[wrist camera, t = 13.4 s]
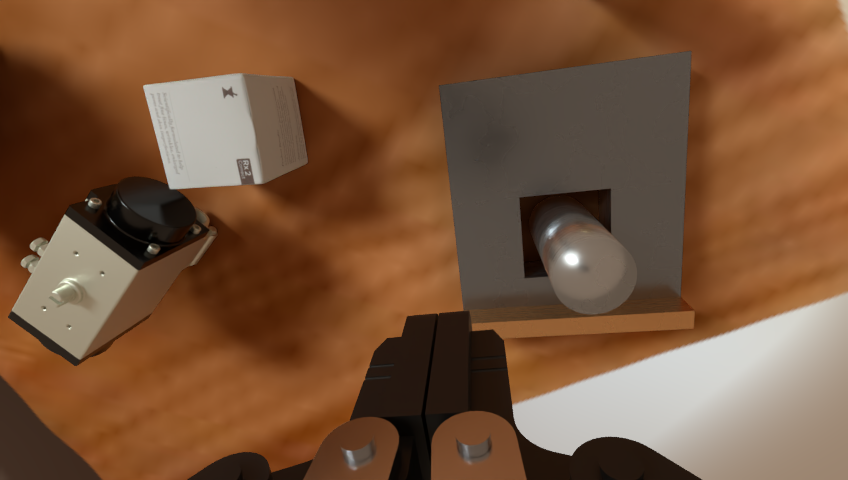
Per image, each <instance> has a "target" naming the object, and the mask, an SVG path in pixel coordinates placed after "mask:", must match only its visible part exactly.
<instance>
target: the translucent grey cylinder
mask: <svg viewBox="0 0 848 480" xmlns="http://www.w3.org/2000/svg"><path fill="white" fill-rule="evenodd" d="M529 230H530V233H531V235H532V238H533V240H534V243H535V245H536V248H537V250H538V252H539V255H540V257H541V260H542V262H543V265H544V267H545V269H546V272H547V274H548V277H549V279H550V282H551V284H552V287H553V289H554V291H555V294H556V295H557V297H558V299H559V300H560V301H561V302H562V303H563V304H564V305H565V306H566V307H568V308H569V309H571V310H573V311H576V312H578V313H583V314H601V313H605V312H608V311H611V310H613V309H615V308H617V307H618V306H620V305H621V304H622V303H624V302H625V301H626V300H627V299H628V297H629V296H630V295H631V293H632V291H633V290H634V287H635V285H636V280H637V268H636V264H635V261H634V259H633V257H632V255H631V254H630V253H629V252H628V250H627V249H626V248H625V247H624V246H623V245H622V244H621V243H620V242H619V241H618V240H617V239H616V238H615V237H614V236H613V235H612V234H611V233H610V232H609V231H608V230H607V229H606V228H605V227H604V226H603V225H602V224H601V223H600V222H599V221H598V220H597V219H596V218H595V217H594V216H593V215H592V214H591V213H590V212H589V211H588V210H587V209H586V208H585V207H584V206H583V205H582V204H581V203H580V202H578V201H577V200H576V199H574V198H572V197H569V196H565V195H555V196H551V197H548V198H546V199H544V200H542V201H541V202H540V203H538V204H537V205H536V207H535V208H534V209H533V211H532V213H531V215H530V219H529Z"/></svg>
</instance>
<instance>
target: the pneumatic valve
mask: <svg viewBox="0 0 848 480" xmlns="http://www.w3.org/2000/svg"><path fill="white" fill-rule="evenodd" d="M209 222H210V220H209V217H208V216H207V215H206V214H205V213H204V212H203V211H202V210H200V209H198V208H196V207H194V206H193V205H192V203H191V202H190V201H189V200H188V199H187V198H186V197H185V196H184V195H183V194H182V193H180V192H179V191H177V190H176V189H170V188H169V185H167V184H165V183H163V182H160V181H157V180H154V179H151V178H146V177H128V178H125V179H122V180H121V181H120V182H119V183H118V184H114V185H109V186H105V187H101V188H97V189H93V190H91V191H90V193H89V195H88V196H87V198H86V200H85V201H84V202H80V203H76V204H72V205H70V206H69V207H68V209H67V211H66V213H65V215H64V217H63V218H62V220H61V222H60V224H59V226H58V227H57V229H56V231H55V233H54V235H53V236H52V238H51V240H50V242H49V241H47V240H46V239H44V238H38V239H36V240H34V241H33V242H32V243H31V244H30V249H32V250H33V251H37V253H38V255H40V256H41V258H40V260H39V257H37V256H36V255H33V254H32V255H28V256H27V257H25V258H24V259H23V260H22V261H21V266H23V267H24V268H28V270H29V271H30V272H31V273H32V275H31V276H30V278H29V280H28V282H27V284H26V285H25V287H24V289H23V291H22V293H21V294H20V296H19V298H18V300H17V302H16V304H15V305H14V307H13V309H12V311H11V313H10V314H9V316H8V318H9V319H11V320H12V321H14V322H15V323H16V324H18V325H19V326H20V327H22V328H23V329H25V330H26V331H27V332H29V333H30V334H32V335H33V336H34V337H36V338H37V339H38V340H39V341H40V342H41V343H42V344H43V345H44V346H45V347H46V348H47V349H49V350H50V351H52V352H54V353H56V354H59V355H61V356H62V357H63V358H65V359H66V360H67V361H69V362H70V363H72V364H73V365H74V366H77V365H79V364H80V363H82V362H83V361H85V360H86V359H88V358H89V357H93V356H96V355H99V354H101V353H103V352H105V351H106V350H107V349H108V348H109V347H110V346H111V345H112V344H113V342H114V341H115V340H116V339H118V338H119V337H121V336H122V335H124V334H125V333H127V332H128V331H130V330H131V329H133V328H134V327H136V326H137V325H139V324H140V323H142V322H143V321H145V320H146V319H148V318H149V316H150V315H151V314H152V312H153V311H154V309H155V308H156V306H157V305H158V304H159V302H160V301H161V299H162V298H163V296H164V295H165V294H166V292H167V291H168V289H169V288H170V286H171V285H172V284H173V282H174V281H175V279H176V278H177V276H178V275H179V273H180V272H181V271H182V270H183V269H185V268H187V267H188V266H193V265H196V264H197V263H198V262H199V260H200V259H201V257H202V256H203V255H204V253H205V252H206V250H207V249H208V248H209V246H210V245H211V243H212V242H213V241H214V239H215V238H216V236H217V235H218V234H217V229H216V228H215V227H213V226H209V227H208V225H209ZM48 242H49V243H48Z"/></svg>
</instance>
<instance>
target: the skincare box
mask: <svg viewBox="0 0 848 480" xmlns="http://www.w3.org/2000/svg"><path fill="white" fill-rule="evenodd" d="M143 88H144V91H145V95H146V99H147V103H148V107H149V110H150V114H151V118H152V122H153V126H154V130H155V134H156V137H157V141H158V145H159V149H160V153H161V157H162V161H163V165H164V169H165V173H166V177H167V181H168V185H169V188H170V189H187V188H202V187H217V186H235V185H254V184H265V183H267V182H269V181H271V180H273V179H275V178H277V177H279V176H282V175H284V174H286V173H288V172H290V171H292V170H295V169H297V168H299V167H301V166H303V165H305V164H307V163H308V158H307V152H306V145H305V139H304V134H303V128H302V122H301V116H300V110H299V105H298V99H297V93H296V88H295V83H294V79H293V78H292V77H282V76H265V75H254V74H244V73H239V74H229V75H221V76H213V77H205V78H197V79H190V80H182V81H174V82H166V83H158V84H148V85H144V86H143Z"/></svg>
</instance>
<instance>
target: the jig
mask: <svg viewBox="0 0 848 480" xmlns="http://www.w3.org/2000/svg"><path fill="white" fill-rule="evenodd" d="M690 72H691V51H687V52H679V53H672V54H665V55H658V56H650V57H643V58H636V59H628V60H621V61H614V62H607V63H599V64H592V65H585V66H577V67H570V68H563V69H556V70H548V71H541V72H534V73H527V74H519V75H512V76H505V77H497V78H490V79H483V80H476V81H468V82H461V83H454V84H446V85H439V90H440V99H441V108H442V118H443V127H444V136H445V145H446V154H447V163H448V172H449V181H450V190H451V199H452V208H453V217H454V226H455V235H456V245H457V254H458V263H459V272H460V281H461V290H462V299H463V308H464V311H470V316H471V323H472V331H479V330H491V329H493V330H494V331H495V332H496V333H497V334H498V335H499V336H500V337H501V338H502V339H503V338H522V337H542V336H561V335H580V334H600V333H619V332H638V331H658V330H677V329H694V316H695V311H694V310H693V309H692V308H691V307H690V306H689V305H688V304H687V303H686V302H685V301H684V300H683V299H682V298H681V277H682V254H683V231H684V209H685V186H686V163H687V140H688V118H689V95H690ZM590 190H599V222H600V223H601V224H602V225H603V226H604V227H605V228H606V229H607V230H608V231H609V232H610V233H611V234H612V235H613V236H614V237H615V238H616V239H617V240H618V241H619V242H620V243H621V244H622V245H623V246H624V247H625V248H626V249H627V250H628V252H629V253H630V254H631V255H632V257H633V259H634V261H635V264H636V268H637V280H636V285H635V287H634V290H633V291H632V293H631V295H630V296H629V297H628V299H627V300H626V301H625V302H624V303H622V304H621V305H620V306H618V307H617V308H615V309H613V310H611V311H608V312H605V313H601V314H583V313H578V312H576V311H573V310H571V309H569V308H568V307H566V306H565V305H564V304H563V303H562V302H561V301H560V300H559V299H558V297H557V295H556V294H555V291H554V289H553V287H552V284H551V282H550V279H549V277H548V274H547V272H546V269H545V267H544V265H543V262H542V261H534V262H524V261H523V246H522V231H521V215H520V200H519V197H528V196H539V195H549V194H559V193H569V192H580V191H590Z"/></svg>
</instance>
